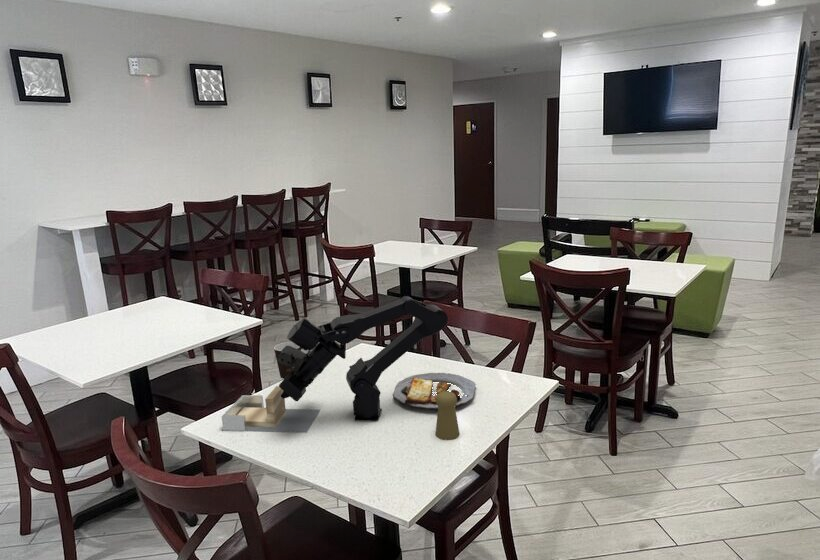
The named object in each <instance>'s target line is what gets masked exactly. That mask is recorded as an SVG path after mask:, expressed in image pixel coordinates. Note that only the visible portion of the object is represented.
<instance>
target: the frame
mask: <svg viewBox="0 0 820 560" xmlns="http://www.w3.org/2000/svg"><path fill="white" fill-rule="evenodd" d="M264 403H265V402H264V397H263V395H261V394H260V395H258V394H257V395H253V394H252V395H249V394H248V395H247V394H245V395H243V394H242V395H241V396H240V397H239V398H238V399H237V400H236V401H235V402H234V403H233V404H232V406H230V407H229V408H228V409H227V410H226V411H225V412H224V414H222V416H221V422H222V430H223V431H222V432H247V431H246V430H247V427H246V418H245V415H238V414H239V412H240V411H241V410H242V409H243V408H244V407H252V408H265V405H264Z"/></svg>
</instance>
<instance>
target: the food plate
mask: <svg viewBox="0 0 820 560" xmlns="http://www.w3.org/2000/svg"><path fill="white" fill-rule="evenodd" d="M433 382H439V383H436V389H435V390H437V391H436V392H437V393H436V394H437V395H438V394H439V393H440V392H444V391H447V390H448V389H449V390H450V388H451V387H452V386H453V385H456V386H457V387H459V388H460V389H461V390H462V394H463V393H464V394H463V396H462V398H460V395H461V393H460V392H461V390H458V389H459V388H458V389H457V390H456V389H451V392H452V393H454V394H455V395H456V397H457V403H456V405H455V407H458V406H462V405H464V404H467V403H468V402H470V401H472V400H473V398H474V395H475V390H476V382H475V381H473V380H472V379H469V378H466V377H464V376H462V375H460V374H454V373H450V372H427V373H418V374H413V375H411V376H408V377H405V378H403V379H401V380H399V381H398V382H397V383H396V385H395V388H394V390H393V392H392V397H393V398H394V399H395V401H398V403H400V404H403V405H405V406H408V407H412V408H421V409H431V410H435V409H436V410H438V405H437V403H436V397H437V395H436V394H435V393H434V394H435V396H433V395H434V394H433V393H432V392H433V391H434V383H433ZM447 383H451V384H453V385H451V384H447ZM456 386H455V387H456ZM432 387H433V389H432ZM449 387H450V388H449ZM457 387H456V388H457ZM432 390H433V391H432ZM432 394H433V395H432ZM459 394H460V395H459ZM458 395H459V396H458ZM465 395H467V396H465Z"/></svg>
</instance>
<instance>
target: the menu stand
mask: <svg viewBox="0 0 820 560" xmlns="http://www.w3.org/2000/svg"><path fill="white" fill-rule="evenodd" d="M282 393H283V390H282V389H281V388H280V387H279V385H276V386H274V388H273V389H272V391H270V393H268V395H267V396H266V397H265V398H264V401H265V402H264V403H265V407H264V408H252V407H244V408H243V409H242V410H241V411H240V412H239V414H238V415H245V418H246V426H249V427H276V426H277V425H278V423H279V422H280V421H281V419H282V418H283V417H284V415H285V414H286V409H287V407H286V401H285V400H286V398H285V399H283V398H282V397H281V395H282Z"/></svg>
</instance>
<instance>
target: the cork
mask: <svg viewBox="0 0 820 560" xmlns="http://www.w3.org/2000/svg"><path fill="white" fill-rule="evenodd" d="M436 403H437V405H438V409H437V415H436V425H435V433H434V434H435V437H436V438H438V439H440V440H441V441H452V440H456V439H458V438H459V437H460V429H459V423H458V416H457V411H456V406H455V405H456V403H457V397H456V395H455V394H454V393H452V392H449V391H444V392H440V393H439V394H438V395H437V397H436Z"/></svg>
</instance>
